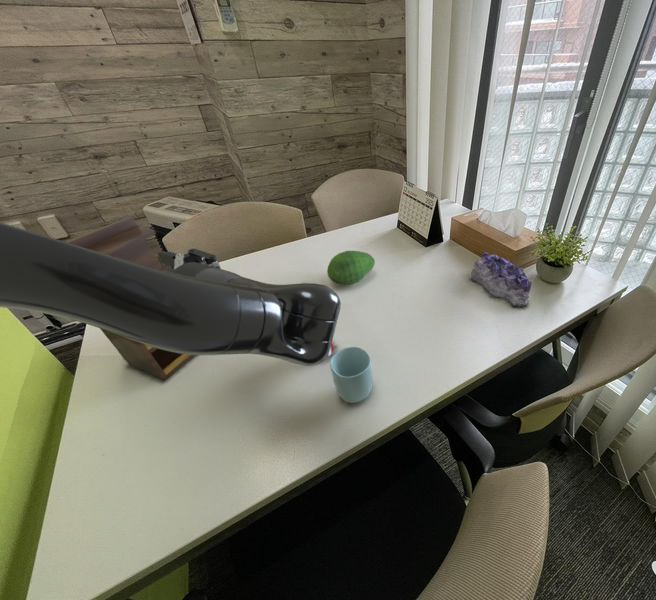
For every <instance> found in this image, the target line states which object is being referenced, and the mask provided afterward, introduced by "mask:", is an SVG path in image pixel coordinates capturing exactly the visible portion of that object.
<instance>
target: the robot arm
mask: <svg viewBox="0 0 656 600" xmlns="http://www.w3.org/2000/svg"><path fill="white" fill-rule="evenodd" d="M157 255H158V258H159V260H160V261H161V263H163V264H164V265H166V266H170V267H169V268H167V269H165V270H164V269H162V270H159V269H155V268H151V267H148V266H144V265H141V264H137V263H134V262H130V261H127V260H124V259H120V258H117V257H113V256H110V255H107V254H103V253H100V252H97V251H93V250H90V249H87V248H84V247H80V246H77V245H74V244H70V243H67V242H66V241H63V240H60V239H57V238H54V237H50V236H48V235H44V234H41V233H37V232H33V231H31V230H27V229H24V228H20V227H17V226H13V225H10V224H7V223H4V222H1V221H0V308H6V309H15V310H21V311H28V312H29V311H30V312H35V313H40V314H45V315H50V316H55V317H59V318H62V319H67V320H71V321H73V322H78V323H81V324H85V325H89V326H92V327H95V328H98V329H99V330H101V329H103V330H106V331H109V332H112V333H115V334H117V335H120V336H123V337H125V338H128V339H131V340H134V341H137V342H140V343H143V344H145V345H149V346H152V347H155V348H158V349H162V350H166V351H170V352H174V353H180V354H188V355H195V356H224V355H225V356H226V355H227V356H228V355H258V356H265V357H270V358H274V359H279V360H280V361H281V360H282V361H284V362H287V363H289V364H292V365H296V366H301V367H313V366H316V365H318V364H320V363H322V362H323V361H324V360H326V359H327V358H326V357H327V355H328V353H329V351H330V348H331V344H332V340H333V341H334V335H335V331H336V328H337V324H338V320H339V317H340V312H341V306H342V303H341V302H342V301H341V298H340V297H339V295H338V294H337V293H336V291H335V290H334V289H332V288H331V287H330V286H327V285H325V284H321V283H315V282H303V283H302V282H301V283H289V284H273V283H266V282H262V281H259V280H255V279H251V278H247V277H244V276H242V275H240V274H238V273H236V272H233V271H229V270H226V269H223V268H221V265H220V263H219V261H218V258H217V256H216V255H215V254H212V253H209V252H207V251H203V250H200V249H197V248H189V249H188V250H187V253H183V252H178V253H176V252H173V251H164V250H161V251H159V252H158V253H157ZM325 358H326V359H325Z"/></svg>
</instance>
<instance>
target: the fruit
mask: <svg viewBox="0 0 656 600" xmlns="http://www.w3.org/2000/svg"><path fill="white" fill-rule="evenodd" d="M375 263H376V261H375V258H374V257H373V256H372V255H371V254H370V253H368V252H365V251H359V250H345V251H342V252H339V253H337V254H336V255H334V256H333V257H332V258H331V259H330V262H329V263H328V266H327V270H326V271H327V276H328V278H329V279H330V280H331V281H332V282H333V283H335V284H337V285H340V286H344V287H345V286H346V287H347V286H353V285H355V284H357V283H358V282H360V281H361V280H363V278H365V277H366V276H367V275H368V274H369V273H370V272H371V271H372V270H373V269H374V267H375Z"/></svg>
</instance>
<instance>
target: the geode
mask: <svg viewBox="0 0 656 600" xmlns="http://www.w3.org/2000/svg"><path fill="white" fill-rule="evenodd" d="M524 270H525V268H524V267H519V266H516V264H513V263H512V262H511V261H510V259H505V258H503V257H499V256H498V255H497V254H495V253H494V254H489V253H487V252H486V251H484V252H483V253H482V256H481V259H480V260H476V261H474V262H473V268H472V270H471V271H470V277H469V280H470V281H471V282H473V283H475V284H477V285H479V286H480V287H482V288H483V290H484V291H486V292H487V293H488V294H489V295H490V297H492V298H494V299H502V300H504V301H506V302H507V303H509V305H510V306H511V307H513V308H524V307H527V306H528V301H529V299H530V297H531V295H530V293H531V290H532V289H531V288H532V283H533V282H532V281H530V279H529V277H528V276H527V274H526V273H525V272H524Z"/></svg>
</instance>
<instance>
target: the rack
mask: <svg viewBox="0 0 656 600" xmlns="http://www.w3.org/2000/svg"><path fill="white" fill-rule="evenodd" d="M155 235H157V233H156V231H155V230H154V229H151V228H148V227H145V226H140V225H138V223H137V222H136V220H135V218H134V216H127V217H124V218H122V219H119V220H117V221H114V222H112V223H110V224H107V225H104V226H102V227H99V228H97V229H93V230H92V231H89V232H86V233H83V234H81V235H78V236H76V237H73V238H71V239H69V240H66V241H65V242H67V243H70V244H74V245H77V246H80V247H84V248H87V249H90V250H93V251H97V252H100V253H103V254H107V255H110V256H113V257H117V258H120V259H124V260H127V261H130V262H134V263H137V264H141V265H144V266H148V267H151V268H155V269H159V270H163V268H162V267H161V265H160V264H159V261H158V260H157V258H156V256H155V254H154V253H153V250H152V249H151V247H150V245H149V243H148V241H147V239H149V238H151V237H153V236H155ZM100 330H101V332H102V333H103V335H105V337H106V339H108V341H109V342H110V343H111V344H112V346H113V347H114V348H115V350H116V351H117V352H118V353H119V354H120V356H121V357H123V360H125V362H126V363H127V364H128V366H130V367H132V368H134V369H136V370H138V371H140V372H143V373H145V374H148V375H149V376H151V377H154V378H156V379H158V380H160V381H163V382H165V381H167V380H168V379H169V378H170V377H171V376H172V375H174V374H175V373H177V372H178V371H179V370H180V369H181V368H182V367H183V366H185V365H186V364H187V363H189V361H191V360H192V359H194V358H195V357H196V355H188V354H180V353H174V352H170V351H166V350H162V349H158V348H155V347H152V346H149V345H145V344H143V343H140V342H137V341H134V340H131V339H128V338H125V337H123V336H120V335H117V334H115V333H112V332H109V331H106V330H103V329H100Z"/></svg>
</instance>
